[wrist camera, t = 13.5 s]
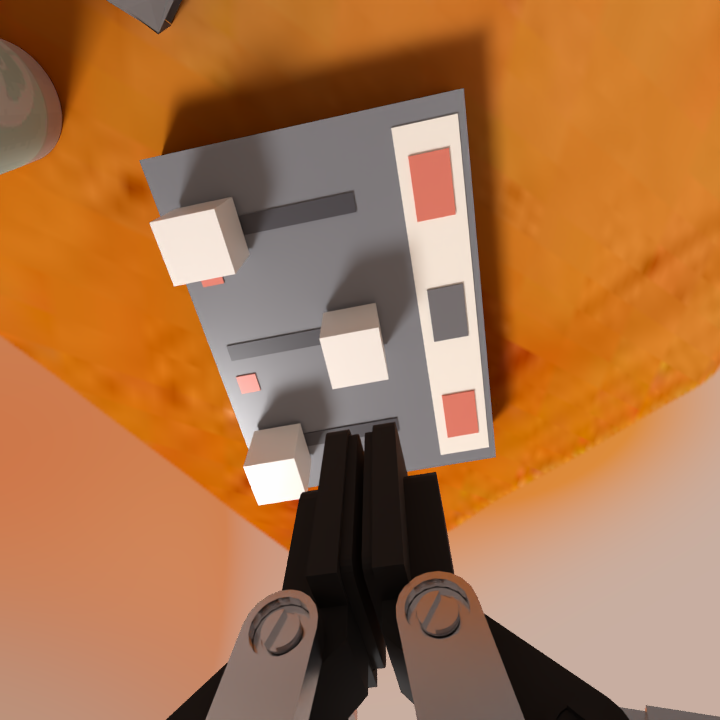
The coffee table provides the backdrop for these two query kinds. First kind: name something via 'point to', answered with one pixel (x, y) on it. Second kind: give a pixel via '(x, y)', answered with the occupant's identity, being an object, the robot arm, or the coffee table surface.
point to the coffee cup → (25, 109)
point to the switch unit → (348, 275)
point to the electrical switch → (150, 11)
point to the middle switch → (353, 346)
